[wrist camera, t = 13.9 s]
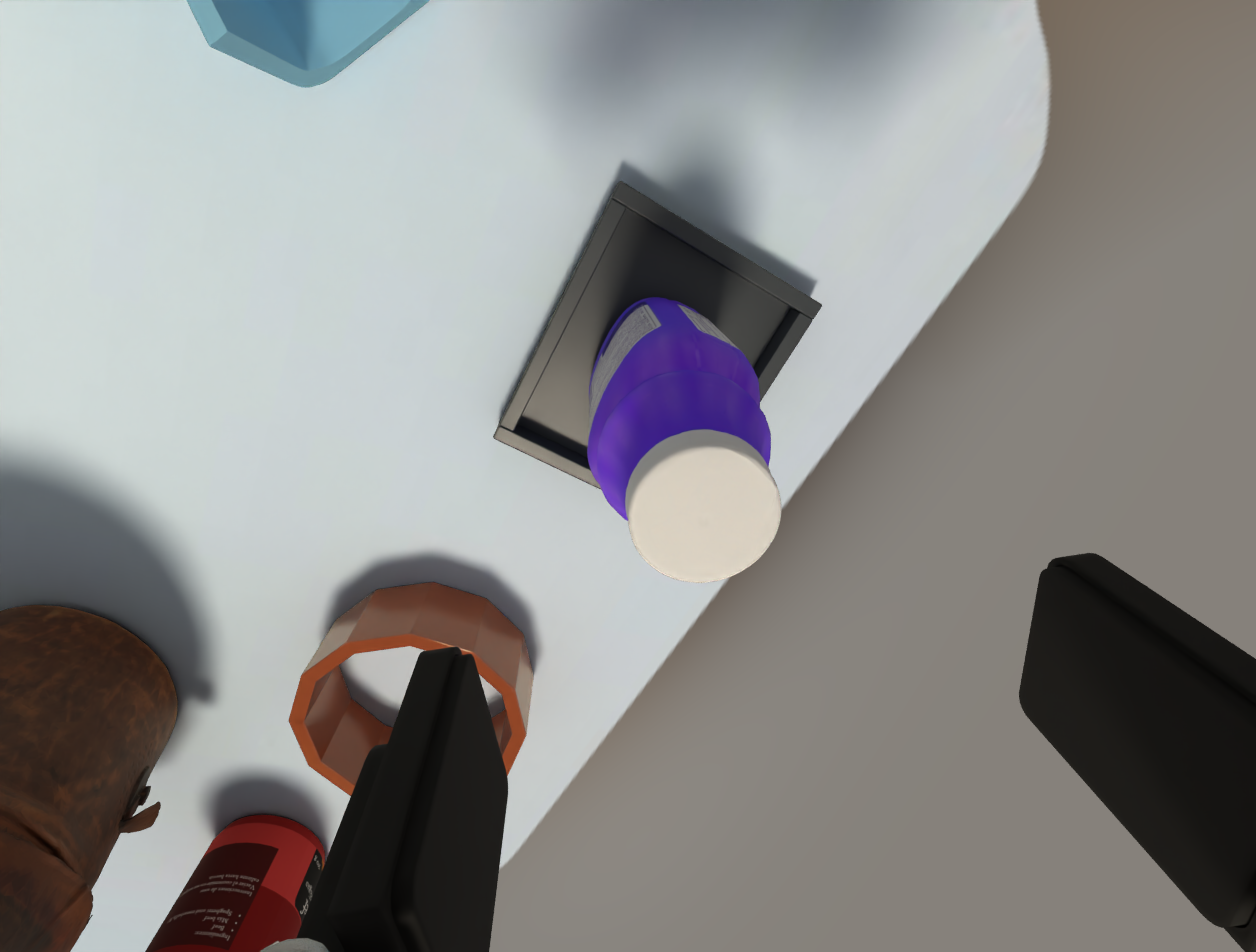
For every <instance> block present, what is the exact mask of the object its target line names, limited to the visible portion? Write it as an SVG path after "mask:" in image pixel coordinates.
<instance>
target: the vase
mask: <svg viewBox="0 0 1256 952" xmlns="http://www.w3.org/2000/svg"><path fill="white" fill-rule="evenodd" d="M428 1H429V0H187V2H188V4H189V6H190V8H191V10H192V12H193V14H194V16H195V18H196V20H197V22H198V24H199V26H200V28H201V31H202V33H203V35H204V37H205V39H206V41H207V43H208V44H209V46H210V47H212V48H214V49H216V50H219V51H221V52H223V53H225V54H227V55H229V56H232V57H234V58H236V59H238V60H240V61H243V62H245V63H247V64H249V65H251V66H254V67H256V68H258V69H260V70H262V71H265V72H267V73H269V74H271V75H273V76H276V77H278V78H280V79H282V80H284V81H287V82H289V83H291V84H294V85H296V86H300V87H313V86H316V85H320V84H322V83H325V82H326V81H328V80H330V79H331V78H333V77H334V76H335V75H337V74H338V73H339V72H341V71H342V70H343V69H344V68H346V67H347V66H348V65H349V64H351V63H352V62H353V61H354V60H356V59H357V58H358V57H359V56H361V55H362V54H363V53H364V52H366V51H367V50H368V49H369V48H371V47H372V46H373V45H374V44H376V43H377V42H378V41H379V40H381V39H382V38H383V37H384V36H386V35H387V34H388V33H389V32H391V31H392V30H393V29H394V28H396V27H397V26H398V25H399V24H401V23H402V22H403V21H404V20H406V19H407V18H408V17H409V16H411V15H412V14H413V13H415V12H416V11H417V10H418V9H420V8H421V7H422V6H423V5H424V4H426V3H427V2H428Z"/></svg>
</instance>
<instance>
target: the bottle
mask: <svg viewBox="0 0 1256 952" xmlns="http://www.w3.org/2000/svg"><path fill="white" fill-rule="evenodd" d="M770 450H771V434H770V430H769V426H768V423H767V421H766V417H765V415H764V413H763V412H762V411H761V409H760V391H759V382H758V378H757V376H756V374H755V371H754V369H753V368H752V366H751V364H750V363H749V361H748V359H747V358H746V356H745V355H744V354H743V352H742V351H741V350H740V349H739V348H737V347H736V346H735V345H734V344H733V343H732V342H731V341H730V340H729V339H728V338H727V337H726V336H725V335H724V334H723V333H722V332H721V331H720V330H719V329H718V328H717V327H716V326H715V325H714V324H713V323H711V322H710V321H709V320H708V319H707V318H705V317H704V316H702V315H701V314H699V313H698V312H697V311H696V310H694V309H693V308H690V307H688V306H686V305H684V304H682V303H680V302H678V301H674V300H668V299H666V298H660V297H650V298H645V299H642V300H639V301H637V302H635V303H634V304H632V305H631V306H630V307H628V308H627V309H626V310H625V311H624V312H623V313H622V314H621V316H620V317H619V318H618V319H617V321H616V322H615V324H614V325H613V327H612V328H611V330H610V331H609V333H608V335H607V337H606V339H605V341H604V343H603V345H602V347H601V349H600V351H599V354H598V356H597V359H596V362H595V365H594V368H593V371H592V375H591V379H590V385H589V439H588V448H587V456H588V462H589V466H590V469H591V472H592V474H593V476H594V478H595V479H596V481H597V482H598V483H599V485H600V487H601V489H602V491H603V494H604V496H605V498H606V499H607V501H608V502H609V504H610V505H611V506H612V507H613V508H614V509H615V510H616V511H617V512H618V513H619V514H620V515H621V516H622V517H623V518H624V519H626V520H627V521H628V524H629V529H630V534H631V537H632V540H633V542H634V545H635V547H636V549H637V550H638V552H639V554H640V555H641V556H642V557H643V558H644V560H645V561H646V562H647V563H648V564H649V565H650V566H652V567H653V568H654V569H656V570H657V571H659V572H660V573H662V574H664V575H666V576H668V577H671V578H673V579H676V580H681V581H686V582H694V583H704V582H713V581H718V580H722V579H725V578H728V577H731V576H733V575H735V574H737V573H739V572H741V571H742V570H744V569H746V568H748V567H749V566H750V565H752V564H753V563H754V562H755V561H756V560H758V559H759V558H760V557H761V556H762V554H763V553H764V552H765V551H766V549H767V548H768V547H769V545H770V544H771V542H772V541H773V539H774V537H775V535H776V532H777V529H778V526H779V522H780V517H781V500H780V495H779V491H778V488H777V485H776V482H775V480H774V478H773V477H772V475H771V473H770V470H769V468H768V466H769V460H770Z"/></svg>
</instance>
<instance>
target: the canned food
mask: <svg viewBox="0 0 1256 952" xmlns="http://www.w3.org/2000/svg"><path fill="white" fill-rule="evenodd" d="M324 863H325V851H324V848H323V845H322V844H321V842H320V841H319V839H318V838H317V837H316V836H315V835H314V834H313V833H312V832H311V831H310V830H309V829H307V828H306V827H305V826H303V825H301V824H299V823H297V822H296V821H293V820H290V819H287V818H284V817H279V816H274V815H253V816H248V817H243V818H241V819H238V820H236V821H234V822H232V823H231V824H229V825H228V826H227V827H226V828H225V829H224V830H223V831H222V832H221V833H219V834H218V836H217V837H216V838H215V839H214V840H213V841H212V843H211V845H210V846H209V848H208V850H207V851H206V853H205V855H204V856H203V858H202V859H201V861H200V863H199V864H198V866H197V868H196V869H195V871H194V873H193V874H192V876H191V878H190V879H189V881H188V882H187V884H186V886H185V887H184V889H183V891H182V892H181V894H180V896H179V897H178V899H177V900H176V902H175V904H174V905H173V907H172V909H171V910H170V912H169V914H168V915H167V917H166V919H165V920H164V922H163V923H162V925H161V927H160V928H159V930H158V932H157V933H156V935H155V937H154V938H153V940H152V942H151V943H150V945H149V946H148V948H147V950H146V951H145V952H260V951H261V950H263V949H265V948H266V947H268V946H271V945H274V944H276V943H279V942H282V941H285V940H287V939H296V937H297V935H298V932H299V930H300V927H301V925H302V922H303V919H304V917H305V914H306V912H307V909H308V906H309V904H310V901H311V899H312V896H313V893H314V891H315V888H316V886H317V883H318V881H319V878H320V875H321V873H322V870H323V868H324Z"/></svg>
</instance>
